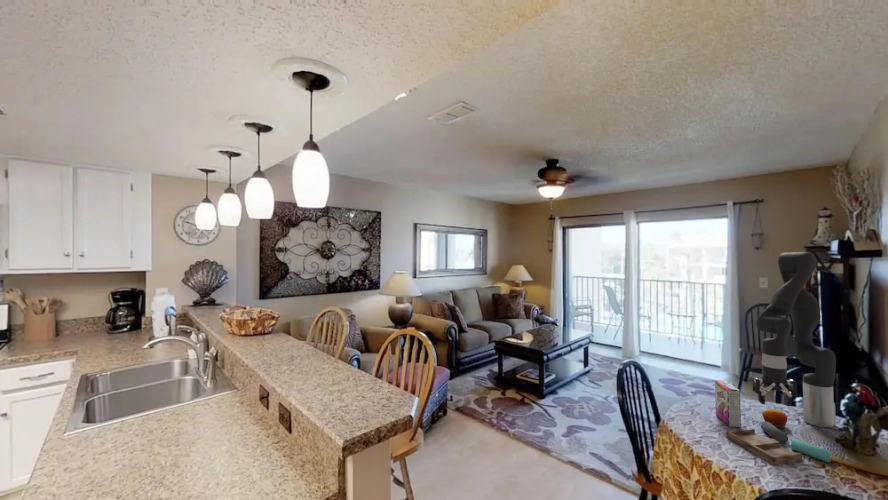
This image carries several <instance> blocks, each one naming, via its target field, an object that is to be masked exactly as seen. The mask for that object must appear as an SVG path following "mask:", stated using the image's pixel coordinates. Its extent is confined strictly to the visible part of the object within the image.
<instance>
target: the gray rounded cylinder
mask: <svg viewBox="0 0 888 500" xmlns="http://www.w3.org/2000/svg"><path fill="white" fill-rule="evenodd" d="M760 428H761V430H763V432H765V433H767V434H768V435H769V436H770V437H771V438H772V439H774V440H776V441H778V442H780V444H786V443H788V442H789V437H788V436H787V435H786V434H785V433H784V432H783V431H781V430H780V429H779V428H777V426H773V425H772V424H771V423H769V422H765V421H763V422H762V423H761V424H760Z"/></svg>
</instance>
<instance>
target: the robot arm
mask: <svg viewBox="0 0 888 500" xmlns="http://www.w3.org/2000/svg"><path fill="white" fill-rule="evenodd" d="M777 264H778V270H779V272H780V275H781V278H782V282H783V283H784V284H782V285H781V286H780V287H779V288H777V289H776V290H775V292H774V293H773V295H772V297H771V300H770V302H769V305H768V306H766V308H765V309H764V310H763V311H762V312H761V313H760V314H759V315H758V317H757V319H756V323H755V324H756V328H757V329H758V330H759V331H761V332H763V333H768V334H775V335H776V337H773V338H771V337H770V338H768V337H767V338H764V339H762V343H761V345H762V355H761V378H759V377H758V378H757V377H753V378H752V391H753V392H754V393H755V394H756V395H757V396H758V397H757V398H758V399H757V400H758V402H759V403H760V404H761V405H763V406H764V405H766V396H765V395H766V394H767V393H769V392H770V391H782V393H783V394H784V395H783V402H784V403H783V404H784V405H785V406H787V407H790V406H791V405H792V398H793V397H794V396H795V397H796V396H798V387H797V381H796V380H795V379H794V380H793V379H791V378H789V379H787V377H788V376H787V374H788V369H787V368H788V366H787V365H788V364H787V356H786V354H787V353H786V351H787V350H786V349H787V348H786V345H787V341H788V339H789V335H790V332H791V330H792V327H793V332H794V338H795V339H794V340H795V341H794V342H795V352H796V356H797V359H798V362H800V363H801V364H802V365H804V366H808V367H811V368H814V373H813V372H811V373H804V374H803V375H802V393H803V394H802V397H803V398H802V399H803V403H802V404H803V421H804V422H805V423H807V424H809V425H812V426H816V427H820V428H824V427H829V429H830V428H831V429H833V428H834V427H835V426H836V425H837V424H836V423H837V422H836V403H835V402H834V382H835V379H836V370H837V369H836V366H837V365H836V364H837V357H836V354H835V353H834V351H833V350H831V349H829V348H826V347H822V346H818V345H815V344H814V341H813V332H814V330H815V329H816V328H817V326H818V324H819V323H820V320H821V310H820V307H819V303H818V300H816V298H815V296H813V295H812V294H811V293H810V292H809V291H808V290H807V289H806V288H805V285H806V284H807V282H808V281H809V279H810V278H811V276H812V275H813V273H814V271H815V269H816V267H817V258H816V256H815V255H814V254H813V253H812V252H809V251H795V252H794V251H793V252H782V253H780V254H779V256H778V258H777ZM789 315H790V316H791V320H792V323H791V321H790V320H789V319H788V318H786V317H784V316H789ZM760 385H761V386H760ZM787 385H788V387H789V388H787V387H786V386H787Z"/></svg>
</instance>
